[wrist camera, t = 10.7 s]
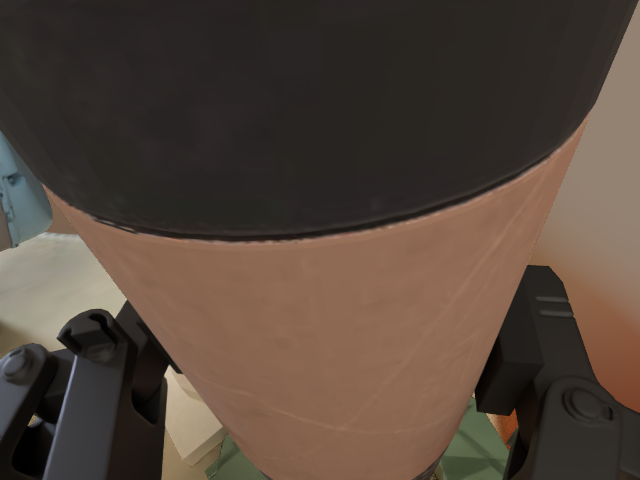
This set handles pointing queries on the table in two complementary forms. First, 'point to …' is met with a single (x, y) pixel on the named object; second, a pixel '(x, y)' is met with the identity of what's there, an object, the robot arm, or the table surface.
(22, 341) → the table surface
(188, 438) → the switch box
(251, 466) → the ring
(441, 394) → the travel mug
